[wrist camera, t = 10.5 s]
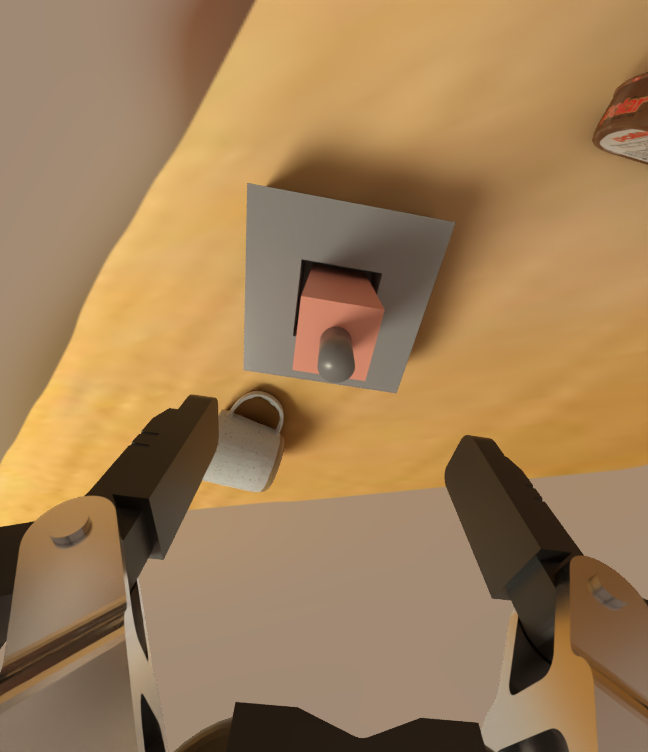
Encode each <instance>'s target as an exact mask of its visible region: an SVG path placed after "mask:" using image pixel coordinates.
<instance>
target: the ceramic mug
mask: <svg viewBox="0 0 648 752" xmlns="http://www.w3.org/2000/svg"><path fill="white" fill-rule="evenodd" d="M257 396H260V397H262V398H264V399H266V400H268V401H269V402H270V403H271V405H272V406H275V407H276V409H277V410H278V411H279V415H280V416H279V423H278V425H277V428H276V429H273V428H271V427H268V426H266V425H263V424H260V423H257V422H254V421H252V420H250V419H248V418H245V417H243V416H240V415H238V414H235V413H234V411H235V409H236V408H237V407H238V406H239V405H240V404H241V403H242V402H244V401H245V400H248V399H250V398H253V397H257ZM283 419H284V413H283V409H282V406H281V404H280V402H279V401H278V400H277V399H276V398H275V397H274V396H272V395H271V394H269V393H266V392H263V391H252V392H249V393H247V394H245V395H243V396H242V397H240V398H239V399H238V400H237V401H236V403H235V404H234V405H233V406H232V408H231V410H230V411H228V410H222V411H221V412H220V414H219V416H218V420H219V440H218V446H217V449H216V452H215V455H214V457H213V459H212V461H211V463H210V465H209V467H208V469H207V471H206V473H205V475H204V477H203V479H202V480H203V481H208V482H212V483H216V484H220V485H224V486H229V487H234V488H238V489H242V490H247V491H252V492H264V491H266V490H267V489H268V488H269V487H270V486H271V484H272V482H273V480H274V478H275V476H276V473H277V471H278V468H279V465H280V462H281V459H282V455H283V451H284V445H285V441H284V437H283V435H282V434H281V433H280V431H281V428H282V425H283Z"/></svg>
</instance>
